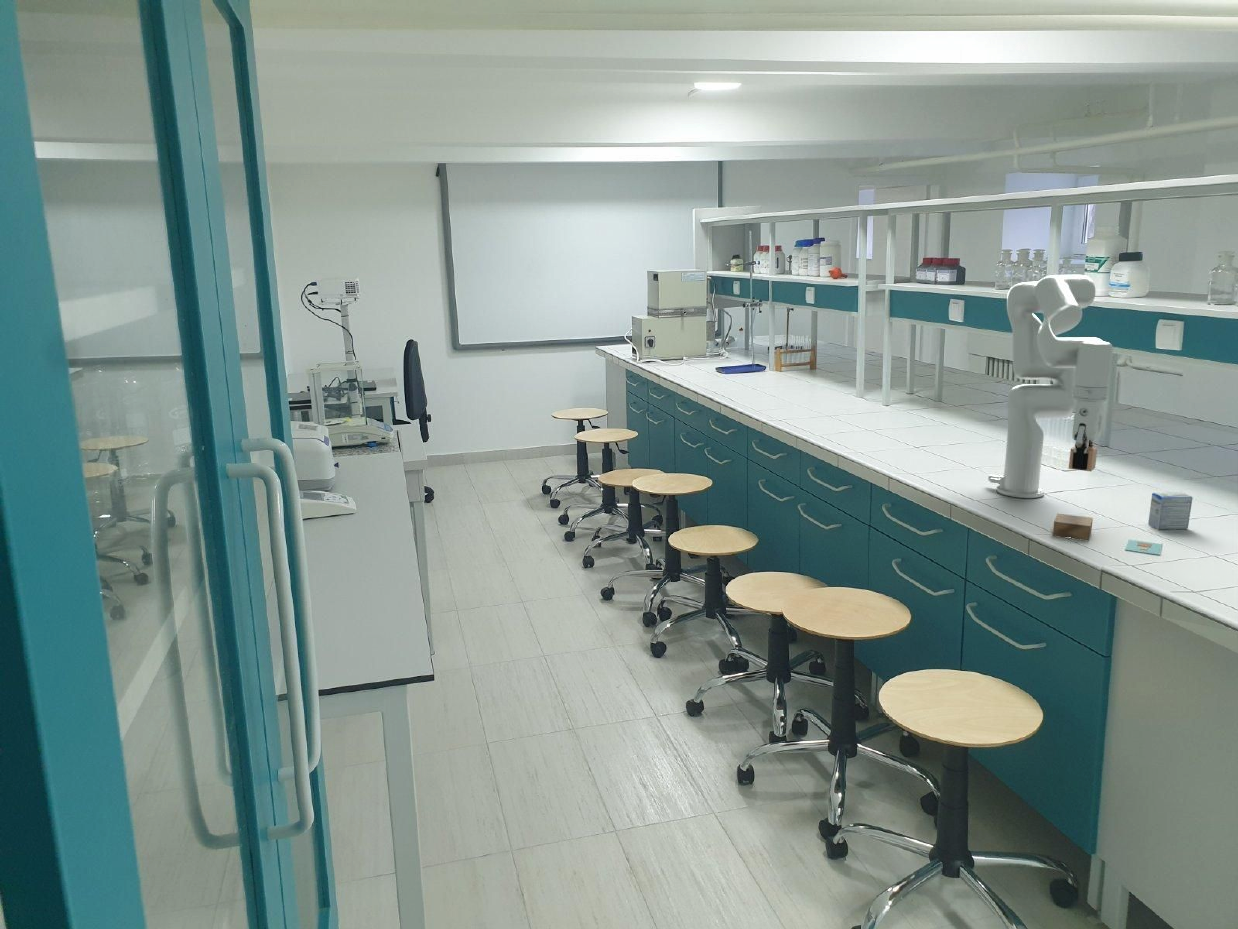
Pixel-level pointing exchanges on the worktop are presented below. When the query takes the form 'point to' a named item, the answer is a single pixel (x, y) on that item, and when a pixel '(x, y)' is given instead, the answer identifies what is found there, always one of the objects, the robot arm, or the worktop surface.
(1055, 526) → the walnut block
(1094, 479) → the worktop surface
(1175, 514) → the medicine box
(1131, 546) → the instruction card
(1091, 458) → the painted brick
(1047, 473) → the worktop surface
